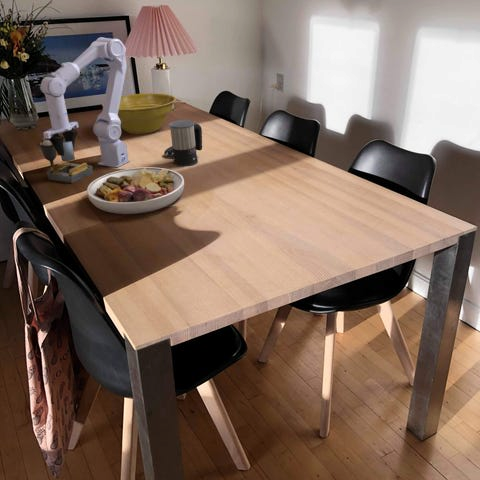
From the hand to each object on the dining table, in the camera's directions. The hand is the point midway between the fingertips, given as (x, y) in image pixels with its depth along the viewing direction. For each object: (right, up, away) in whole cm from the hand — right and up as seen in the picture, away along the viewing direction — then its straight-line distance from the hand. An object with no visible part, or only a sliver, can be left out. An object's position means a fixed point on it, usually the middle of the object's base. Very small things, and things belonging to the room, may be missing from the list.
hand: (66, 153), depth 177 cm
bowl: (+28, -17, -15) cm, 36 cm away
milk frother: (+38, 0, +15) cm, 41 cm away
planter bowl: (+17, +19, +53) cm, 59 cm away
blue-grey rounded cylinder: (0, -2, +1) cm, 2 cm away
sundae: (-8, -5, +11) cm, 14 cm away
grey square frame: (0, -7, +4) cm, 8 cm away
